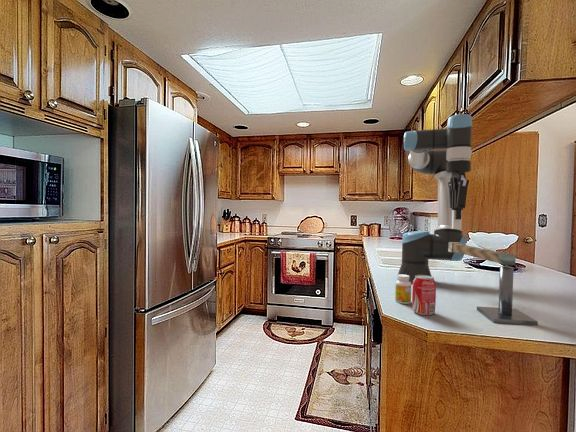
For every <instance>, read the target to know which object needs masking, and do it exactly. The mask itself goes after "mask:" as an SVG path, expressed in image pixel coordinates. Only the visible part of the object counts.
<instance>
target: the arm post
mask: <svg viewBox="0 0 576 432" xmlns="http://www.w3.org/2000/svg"><path fill="white" fill-rule="evenodd" d="M514 268H515V267H513V266H510V265H500V266H499V283H498V284H499V285H498V289H499V290H498V307H494V306H493V307H492V306H476V311H477V312H479V313H480V314H481V315H482V316H484V317H485V318H487V319H488V320H489V321H491V322H492V323H494V324H495V323H496V324H510V325H523V324H525V326H538V325H539V323H538V322H539V321H538V320H537V319H535V318H533V317H531V316H529V315H528V314H525V312H522V311H520V309H517V308H515V307H513V300H514V299H513V298H514V297H513V296H514Z"/></svg>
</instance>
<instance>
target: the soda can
mask: <svg viewBox="0 0 576 432" xmlns="http://www.w3.org/2000/svg"><path fill="white" fill-rule="evenodd" d="M436 291H437V284H436V281H435V277H434V276H428V275H415V279H414V280H413V284H412V288H411V305H412V307H411V308H412V311H413V312H414V313H416V314H417V315H421V316H425V315H427V316H432V315H433V314H435V312H436V304H437V301H436V300H437V299H436V297H437V295H436V294H437V292H436Z"/></svg>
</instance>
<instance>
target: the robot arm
mask: <svg viewBox="0 0 576 432" xmlns="http://www.w3.org/2000/svg"><path fill="white" fill-rule="evenodd" d="M472 132H473V116H472V115H471V114H467V113H462V114H454V115H451V116H450V117H448V119H447V125H446V128H435V129H434V128H433V129H420V130H409V131H405V132H404V135H403V150H404V151H406V152H409V155H408V158H407V163H408V165H409V167H410V168H411V169H412V170H413V171H416V172H417V173H419V174H424V175H434V179H435V180H437V228H435V229H434V230H433V233H430V231H429V230H416V231H408V232H405V233H403V235H402V241H401V244H402V245H401V264H400V267H399V270H398V273H397V276H398V275H400V274H404V275H409V282H411V285H413V280H414V279H415V275H428V276H432V273H431V269H430V267H429V260H435V261H437V260H438V261H450V262H452V261H454V262H460V261H462V260H463V259H464V256H465V254H461V253H457V252H448V243H449V242H459V243H461V244H463V245H467V236H466V235H465V234H463V229H462V227H463V225H462V223H463V222H462V221H463V209H465V208H466V201H467V194H468V187H469V182H470V181H469V179H467V176H466V173H469V172H471V170H472V169H471V167H472V162H471V158H472V154H473V150H472V135H473V134H472ZM432 277H433V276H432Z"/></svg>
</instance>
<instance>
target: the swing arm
mask: <svg viewBox="0 0 576 432" xmlns="http://www.w3.org/2000/svg"><path fill="white" fill-rule="evenodd" d="M448 252H457V253H461V254H464V256H469V257H474V258H477V259H481V260H484V261H488V262H492V263H497V264H500V265H502V266H515V265H516V260H517V259H516V254H514V253H506V252H502V251H496V250H493V249H488V248H487V249H486V248H482V247H476V246H472V245H468V244H466V245H463V244H461V243H459V242H449V243H448Z"/></svg>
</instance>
